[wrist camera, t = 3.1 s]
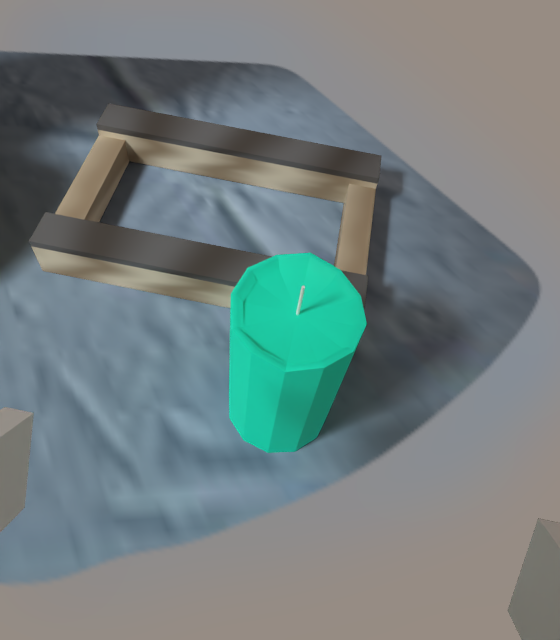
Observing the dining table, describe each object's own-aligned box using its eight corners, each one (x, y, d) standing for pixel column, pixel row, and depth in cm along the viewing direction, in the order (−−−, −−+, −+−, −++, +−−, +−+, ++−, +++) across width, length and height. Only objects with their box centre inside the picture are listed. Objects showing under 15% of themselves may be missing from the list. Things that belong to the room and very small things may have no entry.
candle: (240, 350, 33) (247, 218, 23) (334, 371, 33) (382, 246, 23) (216, 441, 30) (211, 333, 20) (319, 464, 30) (368, 367, 20)
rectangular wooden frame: (42, 270, 35) (28, 241, 33) (115, 135, 43) (108, 103, 40) (354, 332, 35) (364, 307, 32) (372, 185, 42) (381, 155, 40)
